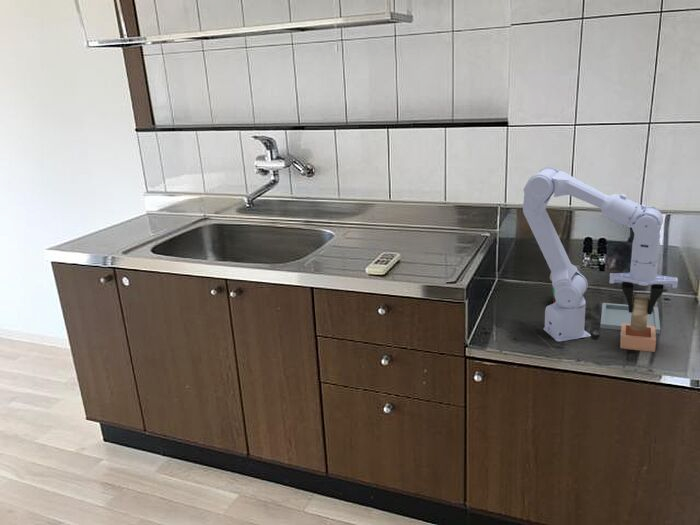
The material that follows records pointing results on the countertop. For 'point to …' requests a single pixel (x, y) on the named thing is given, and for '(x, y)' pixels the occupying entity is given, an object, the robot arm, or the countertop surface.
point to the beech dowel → (639, 313)
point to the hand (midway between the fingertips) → (639, 311)
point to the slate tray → (624, 317)
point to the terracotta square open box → (638, 338)
